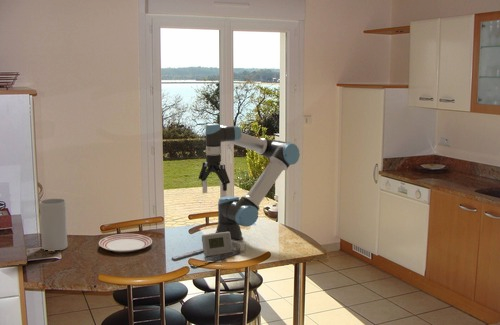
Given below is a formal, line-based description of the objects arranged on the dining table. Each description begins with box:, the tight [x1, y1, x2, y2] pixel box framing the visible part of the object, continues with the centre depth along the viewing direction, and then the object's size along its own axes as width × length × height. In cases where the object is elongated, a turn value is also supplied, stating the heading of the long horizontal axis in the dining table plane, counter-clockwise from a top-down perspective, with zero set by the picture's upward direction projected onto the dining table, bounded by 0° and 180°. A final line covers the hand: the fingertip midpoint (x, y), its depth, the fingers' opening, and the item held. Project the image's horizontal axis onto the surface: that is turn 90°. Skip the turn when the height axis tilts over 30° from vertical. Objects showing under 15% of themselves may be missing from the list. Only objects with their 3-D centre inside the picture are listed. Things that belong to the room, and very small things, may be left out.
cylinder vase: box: [39, 198, 68, 251], centre depth 288 cm, size 12×12×25 cm
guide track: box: [171, 239, 246, 269], centre depth 281 cm, size 17×34×5 cm, turn 136°
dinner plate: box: [98, 233, 153, 253], centre depth 294 cm, size 27×27×3 cm
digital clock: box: [201, 232, 234, 257], centre depth 284 cm, size 16×9×11 cm, turn 107°
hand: (214, 194), depth 288 cm, fingers open, 13 cm apart
